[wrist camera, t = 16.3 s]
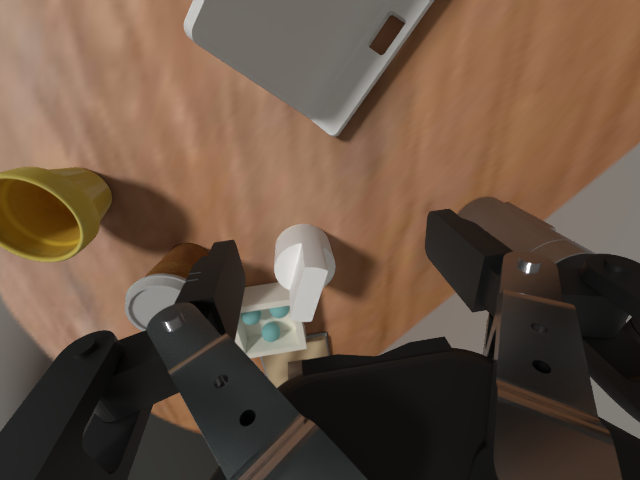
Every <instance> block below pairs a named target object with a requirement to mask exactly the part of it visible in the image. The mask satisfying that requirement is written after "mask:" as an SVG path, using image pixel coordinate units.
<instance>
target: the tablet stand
mask: <svg viewBox="0 0 640 480" xmlns="http://www.w3.org/2000/svg"><path fill="white" fill-rule="evenodd" d="M433 2H434V0H193V2H192V4H191V7H190V9H189V11H188V14H187V16H186V18H185V21H184V30H185V33H186V35H187V36H188V37H189V38H190V39H191V40H192V41H194V42H195V43H196V44H197V45H199V46H200V47H202V48H203V49H205V50H206V51H208V52H209V53H211V54H212V55H214V56H215V57H217V58H218V59H220V60H221V61H223V62H224V63H226V64H228V65H229V66H231V67H232V68H234V69H235V70H237V71H238V72H240V73H241V74H243V75H244V76H246V77H247V78H249V79H250V80H252V81H253V82H255V83H256V84H258V85H259V86H261V87H262V88H264V89H265V90H267V91H268V92H270V93H271V94H273V95H274V96H276V97H277V98H279V99H281V100H282V101H284V102H285V103H287V104H288V105H290V106H291V107H293V108H294V109H296V110H297V111H299V112H300V113H302V114H303V115H305V116H306V117H308V118H309V119H311V120H312V121H313V122H314V123H316V124H317V125H318V126H319V127H320V128H322V129H323V130H324V131H325V132H327V133H328V134H329V135H331V136H333V137H336V136H338V135H339V134H340V133H341V131H342V130H343V129H344V127H345V126H346V124H347V123H348V122H349V120H350V119H351V117H352V116H353V115H354V113H355V112H356V110H357V109H358V107H359V106H360V105H361V103H362V102H363V100H364V99H365V98H366V96H367V95H368V93H369V92H370V91H371V89H372V88H373V86H374V85H375V83H376V82H377V81H378V79H379V78H380V76H381V75H382V74H383V72H384V71H385V69H386V68H387V67H388V65H389V64H390V62H391V61H392V60H393V58H394V57H395V55H396V54H397V52H398V51H399V50H400V48H401V47H402V45H403V44H404V43H405V41H406V40H407V38H408V37H409V36H410V34H411V33H412V31H413V30H414V28H415V27H416V26H417V24H418V23H419V21H420V20H421V19H422V17H423V16H424V14H425V13H426V12H427V10H428V9H429V7H430V6H431V5H432V3H433ZM391 15H393V16H395V17H396V18H398V19H399V20H401V21H402V22H404V23H405V25H404V26H403V28H402V29H401V31H400V32H399V34H398V35H397V36H396V38H395V39H394V41H393V42H392V44H391V45H390V46H389V48H388V49H387V51H386V52H385V54H383V55H379V54H378V53H377V52H375V51H374V50H372V49H371V48H370V47H369V46H370V45H371V43H372V42H373V40H374V39H375V37H376V36H377V34H378V33H379V31H380V30H381V28H382V27H383V25H384V24H385V22H386V21H387V19H388V18H389V17H390V16H391Z"/></svg>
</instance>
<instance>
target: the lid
mask: <svg viewBox="0 0 640 480" xmlns="http://www.w3.org/2000/svg"><path fill="white" fill-rule="evenodd" d="M306 343H307V349H303V350H297V351H291V352H285V353H279V354H273V355H267V356H262V360H263V363H264V366H265V369H266V373H267V376H268V379H269V380H270V381H271V382H272V383H273V384H274V385H275V387H276V388H278V387H279V386H280V385H281V384H283V383H284V382H285V381H287V380H288V379H290V378H292V377H293V376H295V375H297V374H299V373H302V360H306V359H313V358H319V357H325V356H328V353H327V346H326V339H325V336H319V337H313V338H306Z"/></svg>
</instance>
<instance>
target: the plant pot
mask: <svg viewBox="0 0 640 480" xmlns="http://www.w3.org/2000/svg"><path fill="white" fill-rule="evenodd" d="M111 203H112V193H111V190H110V188H109V186H108V185H107V183H106V182H105V181H104V180H103V179H102V178H101V177H100V176H98V175H97V174H95V173H94V172H92V171H89V170H87V169H84V168H76V167H74V168H63V169H51V170H47V169H43V168H38V167H21V168H16V169H12V170H8V171H4V172H1V173H0V246H1V247H2V248H4V249H5V250H7V251H9V252H11V253H13V254H15V255H18V256H20V257H23V258H26V259H30V260H34V261H39V262H59V261H63V260H67V259H69V258H71V257H73V256H75V255H76V254H78V253H79V252H80V251H81V250H82V249H84V248H85V247H86V246H87V245H88V244H89V243H90V242H91V241H92V240H93V239H94V238H95V237H96V235H97V233H98V231H99V227H100V221H101V219H102V218H103V216H104V215H105V213H106V212H107V210H108V209H109V207H110V206H111Z"/></svg>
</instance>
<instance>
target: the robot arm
mask: <svg viewBox="0 0 640 480" xmlns="http://www.w3.org/2000/svg"><path fill="white" fill-rule="evenodd" d="M425 250H426V254H427V257H428V258H429V260H430V261H431V262H432V263H433V265H434V266H435V267H436V268H437V270H438V271H439V272H440V273H441V274H442V276H443V277H444V278H445V279H446V281H447V282H448V283H449V284H450V285H451V287H452V288H453V289H454V290H455V292H456V293H457V294H458V295H459V296H460V298H461V299H462V300H463V301H464V302H465V304H466V305H467V306H468V307H469V309H470V310H471V311H472V312H477V311H483V310H487V311H488V312H489V315H488V320H487V325H486V333H485V341H484V348H483V355H482V354H479V353H475V352H472V351H468V350H464V349H458V348H451V346H450V345H449V343H448V341H447V340H446V338H445V337H439V338H433V339H427V340H421V341H415V342H410V343H407V344H405V345H403V346H400V347H398V348H396V349H393V350H391V351H389V352H386V353H384V354H382V355H379V356H357V355H339V354H337V355H331V356H325V357H319V358H313V359H306V360H302V373H299V374H297V375H295V376H293V377H292V378H290V379H288V380H287V381H285V382H284V383H283V384H281V385H280V386H279V387H278V388H276V387H275V385H274V384H273V383H272V382H271V381H270V380H269V379H268V378H267V377H266V376H265V374H264V373H263V372H262V371H261V370H260V369H259V368H258V367H257V366H256V365H255V363H254V362H253V361H252V360H251V359H250V358H249V357H248V356H247V355H246V354H245V352H244V351H243V350H242V349H241V348H240V347H239V346H238V345H237V344H236V343H235V338H236V333H237V327H238V322H239V317H240V311H241V306H242V301H243V296H244V290H245V274H244V270H243V266H242V263H241V260H240V256H239V253H238V249H237V246H236V243H235V241H234V240H228V241H221V242H215V243H214V244H213V246H212V248H211V250H210V253H209V255H208V256H202V257H201V258H200V259H199V260H198V261H197V262H196V263H195V264H194V265H193V267H192V269H191V271H190V273H189V275H188V277H187V279H186V282H185V283H184V285H183V287H182V289H181V291H180V293H179V295H178V297H177V299H176V301H175V303H174V305H171V306H168V307H166V308H164V309H163V310H161V311H160V312H158V313H157V314H156V315H154V316H153V318H152V319H151V320H150V321H149V323H148V325H147V330H145V331H142V332H140V333H137V334H134V335H132V336H129V337H126V338H124V339H121V340H118V339H117V338H116V336H115V335H114V334H113V333H112V332H111V331H106V330H103V331H97V332H93V333H90V334H88V335H85V336H83V337H81V338H79V339H77V340H76V341H74V342H73V343H71V344H70V345H69V346H67V347H66V348H65V349H64V350H63V351H62V352H61V353H60V354H59V355H58V356H57V358H56V359H55V360H54V362H53V363H52V364H51V366H50V367H49V368H48V370H47V371H46V373H45V374H44V375H43V376H42V378H41V379H40V380H39V382H38V383H37V384H36V386H35V387H34V388H33V390H32V391H31V392H30V393H29V395H28V396H27V397H26V399H25V400H24V401H23V403H22V404H21V405H20V407H19V408H18V409H17V411H16V412H15V413H14V415H13V416H12V417H11V419H10V420H9V421H8V423H7V424H6V425H5V426H4V428H3V429H2V431H1V432H0V480H127V479H128V476H129V473H130V470H131V467H132V464H133V461H134V458H135V456H136V453H137V450H138V447H139V444H140V441H141V438H142V435H143V432H144V430H145V427H146V424H147V421H148V418H149V415H150V412H151V409H152V406H153V404H155V403H157V402H159V401H161V400H164V399H166V398H168V397H170V396H172V395H175V394H177V393H179V392H180V394H181V396H182V398H183V400H184V402H185V403H186V405H187V407H188V409H189V411H190V412H191V414H192V416H193V418H194V420H195V422H196V423H197V425H198V427H199V429H200V431H201V433H202V434H203V436H204V438H205V440H206V442H207V444H208V445H209V447H210V449H211V451H212V453H213V454H214V456H215V458H216V460H217V462H218V464H219V466H218V468H217V469H216V471H215V472H214V473H213V475H212V476H211V478H210V479H209V480H640V439H638V438H637V437H635V436H633V435H631V434H629V433H627V432H626V431H624V430H622V429H620V428H618V427H616V426H615V425H612V424H611V423H609V422H607V421H605V420H604V419H602V418H600V417H598V414H597V409H596V404H595V400H594V395H593V390H592V385H591V380H590V377H591V378H592V379H593V380H594V381H595V382H596V383H597V384H598V385H599V386H600V387H601V388H602V389H603V390H604V391H605V392H606V393H607V394H608V395H609V396H610V397H611V398H612V399H613V400H614V401H615V402H616V403H617V404H618V405H620V406H621V407H622V408H623V409H624V410H625V411H626V412H627V413H628V414H630V415H631V416H632V417H633V418H635V419H636V420H637V421H639V422H640V263H638V262H636V261H633V260H631V259H628V258H625V257H621V256H617V255H611V254H596V253H594V252H592V251H590V250H588V249H587V248H585V247H583V246H581V245H579V244H578V243H576V242H574V241H572V240H570V239H568V238H567V237H565V236H563V235H561V234H559V233H557V232H556V229H555V228H554V227H553V226H551V225H549V224H548V223H546V222H544V221H542V220H540V219H538V218H537V217H535V216H533V215H531V214H529V213H527V212H525V211H524V210H522V209H520V208H518V207H516V206H514V205H513V204H511V203H509V202H506V203H504V202H502V201H500V200H498V199H496V198H492V197H484V198H480V199H477V200H474V201H472V202H471V203H469V204H468V205H466V206H465V207H464V208H463V209H462V210H461V211H460V212H459V214H458V215H457V214H456V213H454V212H453V211H452V210H450V209H443V210H437V211H431V212H429V214H428V217H427V228H426V239H425ZM629 315H631V316H632V318H631V319H630V320H629V321H628V322H627V323H626V319H627V318H628V316H629ZM93 412H94V413H95V414H94V416H93V418H92V420H91V422H90V424H89V426H88V428H87V430H86V432H85V434H84V436H83V432H84V429H85V427H86V425H87V423H88V421H89V419H90V417H91V415H92V413H93ZM82 436H83V438H82Z"/></svg>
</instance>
